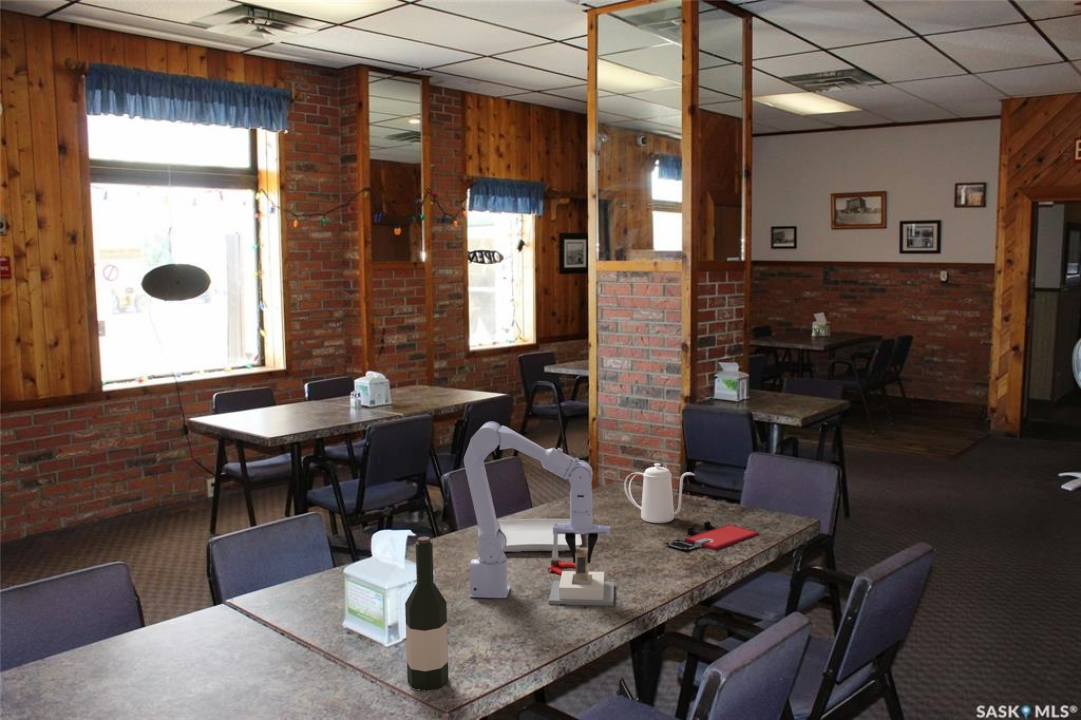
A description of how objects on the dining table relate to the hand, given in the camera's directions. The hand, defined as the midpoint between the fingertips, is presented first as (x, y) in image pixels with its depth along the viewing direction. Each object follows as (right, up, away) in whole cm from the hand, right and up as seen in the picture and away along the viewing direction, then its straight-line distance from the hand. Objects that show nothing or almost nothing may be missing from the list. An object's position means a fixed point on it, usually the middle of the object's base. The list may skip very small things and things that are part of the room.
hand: (581, 561), depth 227 cm
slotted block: (0, -9, +1) cm, 9 cm away
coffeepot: (+29, -1, +67) cm, 73 cm away
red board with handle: (+41, -4, +45) cm, 61 cm away
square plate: (-12, -5, +46) cm, 48 cm away
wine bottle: (-34, -14, -46) cm, 58 cm away
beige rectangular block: (0, -4, 0) cm, 4 cm away
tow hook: (-3, -7, +19) cm, 21 cm away
